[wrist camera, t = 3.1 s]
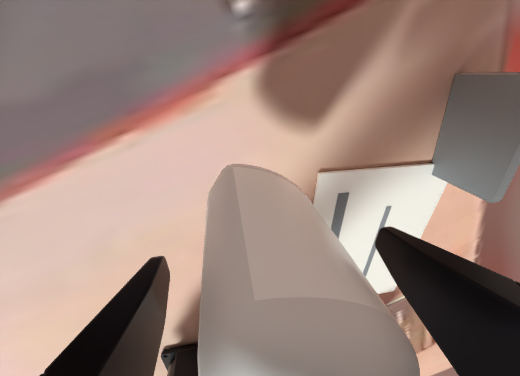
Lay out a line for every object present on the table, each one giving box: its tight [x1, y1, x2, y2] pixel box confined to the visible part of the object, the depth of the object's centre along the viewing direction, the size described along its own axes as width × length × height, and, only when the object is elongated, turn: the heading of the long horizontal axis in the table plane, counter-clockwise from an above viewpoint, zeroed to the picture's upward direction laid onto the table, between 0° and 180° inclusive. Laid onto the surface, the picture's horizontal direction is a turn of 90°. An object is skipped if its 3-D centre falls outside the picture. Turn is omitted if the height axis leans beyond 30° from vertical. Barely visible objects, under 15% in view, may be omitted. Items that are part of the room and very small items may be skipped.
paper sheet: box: [313, 163, 448, 294], centre depth 22 cm, size 18×13×1 cm
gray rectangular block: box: [432, 72, 520, 203], centre depth 15 cm, size 8×1×5 cm, turn 10°
